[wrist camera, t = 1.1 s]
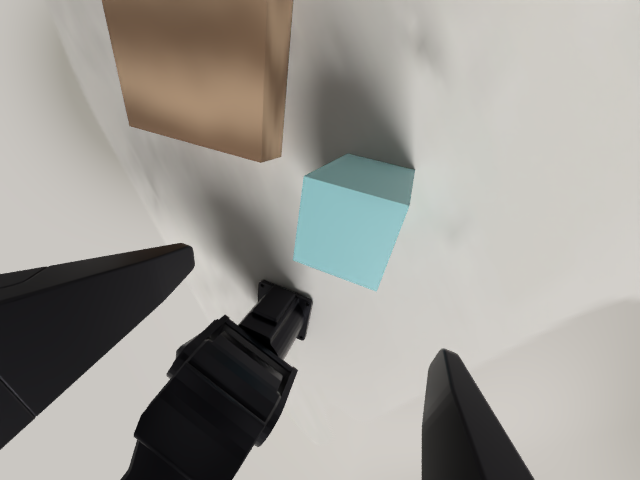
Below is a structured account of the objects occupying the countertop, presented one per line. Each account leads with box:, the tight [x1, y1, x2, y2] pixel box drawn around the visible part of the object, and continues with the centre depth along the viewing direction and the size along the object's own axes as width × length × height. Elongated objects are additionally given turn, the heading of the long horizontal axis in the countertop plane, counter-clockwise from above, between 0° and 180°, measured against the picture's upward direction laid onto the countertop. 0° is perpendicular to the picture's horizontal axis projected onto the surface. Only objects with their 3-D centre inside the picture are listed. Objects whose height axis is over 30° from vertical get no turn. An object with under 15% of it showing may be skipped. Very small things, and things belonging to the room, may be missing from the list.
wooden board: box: [102, 0, 293, 163], centre depth 17 cm, size 13×13×3 cm
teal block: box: [293, 154, 415, 291], centre depth 16 cm, size 5×5×8 cm
